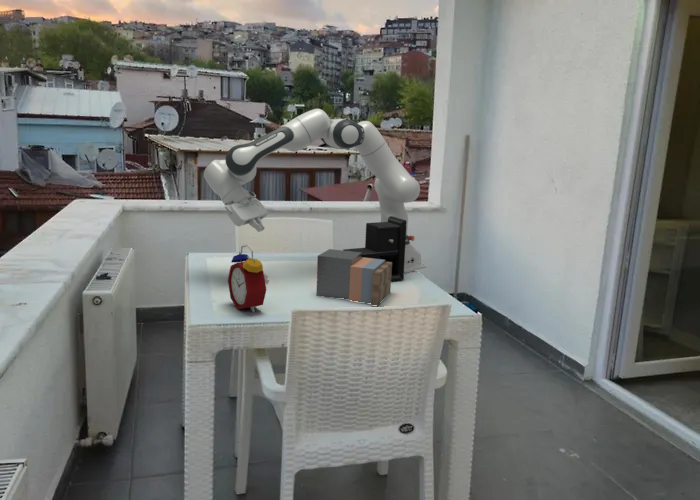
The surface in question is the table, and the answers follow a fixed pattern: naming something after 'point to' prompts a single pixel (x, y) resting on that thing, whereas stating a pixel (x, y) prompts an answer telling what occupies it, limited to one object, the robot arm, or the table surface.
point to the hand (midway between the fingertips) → (261, 230)
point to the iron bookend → (335, 272)
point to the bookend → (386, 244)
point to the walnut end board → (381, 283)
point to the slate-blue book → (369, 279)
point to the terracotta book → (357, 279)
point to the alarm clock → (247, 281)
